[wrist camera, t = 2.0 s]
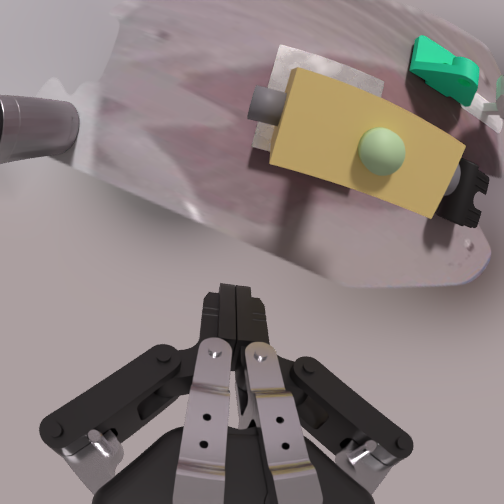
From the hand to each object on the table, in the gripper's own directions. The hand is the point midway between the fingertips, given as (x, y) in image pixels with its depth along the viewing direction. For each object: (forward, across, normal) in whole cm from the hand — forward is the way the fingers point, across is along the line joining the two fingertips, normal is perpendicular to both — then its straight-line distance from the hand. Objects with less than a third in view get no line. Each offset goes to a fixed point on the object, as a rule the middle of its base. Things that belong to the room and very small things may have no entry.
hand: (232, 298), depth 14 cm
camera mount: (+29, +29, +24) cm, 48 cm away
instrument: (+24, +10, +10) cm, 28 cm away
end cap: (+25, +36, +5) cm, 44 cm away
